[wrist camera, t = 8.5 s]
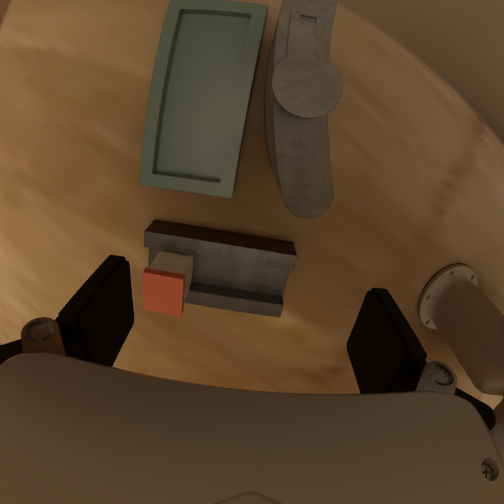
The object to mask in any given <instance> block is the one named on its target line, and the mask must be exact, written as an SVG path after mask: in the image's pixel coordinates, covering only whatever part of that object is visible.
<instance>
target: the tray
mask: <svg viewBox="0 0 504 504" xmlns="http://www.w3.org/2000/svg"><path fill="white" fill-rule="evenodd" d="M267 9H268V5H261V4H254V3H246V2H238V1H227V0H170V1H169V5H168V8H167V12H166V16H165V20H164V24H163V28H162V32H161V36H160V41H159V45H158V50H157V55H156V60H155V65H154V70H153V76H152V81H151V87H150V93H149V99H148V106H147V113H146V121H145V128H144V137H143V146H142V156H141V168H140V181H139V185H141V186H149V187H157V188H164V189H172V190H179V191H186V192H193V193H200V194H207V195H213V196H219V197H226V198H232V195H233V191H234V185H235V179H236V173H237V167H238V161H239V155H240V149H241V144H242V138H243V132H244V127H245V121H246V116H247V110H248V105H249V100H250V94H251V89H252V84H253V79H254V74H255V69H256V64H257V59H258V54H259V49H260V44H261V39H262V34H263V29H264V25H265V20H266V15H267Z"/></svg>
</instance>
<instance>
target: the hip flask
mask: <svg viewBox="0 0 504 504" xmlns="http://www.w3.org/2000/svg"><path fill="white" fill-rule="evenodd" d="M336 6H337V0H283V1H282V5H281V9H280V13H279V17H278V21H277V26H276V30H275V34H274V38H273V42H272V47H271V51H270V55H269V60H268V65H267V71H266V79H265V91H264V124H265V135H266V144H267V150H268V155H269V160H270V164H271V166H272V169H273V172H274V175H275V178H276V181H277V184H278V186H279V189H280V192H281V195H282V198H283V201H284V204H285V206H286V208H287V209H288V210H289V211H290V212H291V213H292V214H294V215H296V216H298V217H301V218H313V217H317V216H319V215H321V214H322V213H324V212H325V211H326V210H327V209H328V208H329V206H330V204H331V202H332V199H333V184H332V176H331V167H330V157H329V142H328V113H329V112H330V111H331V110H332V109H334V108H335V106H336V105H337V104H338V102H339V99H340V98H341V93H342V82H341V77H340V76H339V72H338V71H337V70H336V68H335V66H334V65H332V63H331V62H330V61H329V51H330V40H331V32H332V26H333V20H334V15H335V10H336Z"/></svg>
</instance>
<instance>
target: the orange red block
mask: <svg viewBox="0 0 504 504" xmlns="http://www.w3.org/2000/svg"><path fill="white" fill-rule="evenodd" d="M193 259H194V255H191V254H185V253H179V252H173V251H167V250H160V251H159V253H158V254H157V256H156V257H155V259H154V260H153V262H152V263H151V265H150V267H149V268H145V270H144V271H143V304H144V309H146V310H151V311H155V312H160V313H165V314H171V315H176V316H182V313H183V307H184V301H185V298H186V295H187V293H188V290H189V287H190V284H191V281H192V270H193Z"/></svg>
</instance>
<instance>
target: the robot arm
mask: <svg viewBox="0 0 504 504" xmlns="http://www.w3.org/2000/svg"><path fill="white" fill-rule="evenodd" d="M477 287H478V281H477V276H476V274H475V272H474V271H473V270H472V269H471V268H470V267H468V266H467V265H464V264H454V265H451V266H448V267H446V268H444V269H443V270H441V271H440V272H439V273H438V274H436V275H435V276H434V277H433V278H432V279H431V281H430V282H429V283H428V284H427V286H426V287H425V289H424V291H423V293H422V295H421V297H420V300H419V305H418V314H419V318H420V320H421V321H422V323H423V324H424V325H425V326H426V327H428V328H430V329H438V330H439V331H440V333H441V334H442V336H443V337H444V339H445V340H446V342H447V343H448V345H449V346H450V348H451V349H452V351H453V353H454V354H455V356H456V357H457V359H458V360H459V362H460V364H461V365H462V367H463V368H464V370H465V372H466V373H467V375H468V376H469V378H470V380H471V381H472V383H473V385H474V386H475V387H476V388H477V389H478V390H479V391H481V392H482V393H486V394H490V395H501V396H503V399H502V401H501V402H500V403H499V404H498V405H497V406H496V407H495V408H494V409H493V410H492V408H491V407H490V406H488V405H486V404H485V403H483V402H481V401H479V400H478V399H476V398H474V397H472V396H471V395H469V394H467V393H465V392H463V391H462V390H460V389H458V388H456V384H457V377H456V374H455V373H454V371H453V370H452V369H451V368H450V367H449V366H448V365H446V364H444V363H442V362H439V361H431V362H429V363H427V362H426V360H425V359H426V357H427V354H426V352H425V350H424V349H423V347H422V345H421V343H420V342H419V340H418V338H417V337H416V335H415V333H414V332H413V330H412V328H411V327H410V325H409V323H408V322H407V320H406V318H405V317H404V315H403V314H402V312H401V310H400V309H399V307H398V306H397V304H396V303H395V301H394V299H393V298H392V296H391V295H390V293H389V292H388V290H387V289H383V288H372V289H371V291H368V292H367V293H366V296H365V298H364V301H363V304H362V306H361V309H360V312H359V314H358V317H357V319H356V322H355V324H354V327H353V329H352V332H351V334H350V337H349V339H348V342H347V352H348V355H349V358H350V361H351V364H352V367H353V370H354V373H355V377H356V380H357V383H358V386H359V390H360V393H361V394H304V393H282V392H267V391H255V390H244V389H234V388H225V387H217V386H210V385H202V384H196V383H189V382H183V381H177V380H171V379H165V378H160V377H155V376H150V375H145V374H140V373H136V372H131V371H127V370H122V369H118V368H114V367H112V366H113V364H114V362H115V360H116V358H117V356H118V354H119V352H120V350H121V348H122V346H123V344H124V342H125V340H126V338H127V336H128V334H129V332H130V330H131V328H132V326H133V323H134V309H133V300H132V289H131V277H130V264H129V262H128V261H126V259H125V257H123V256H116V255H110V256H109V257H108V258H107V259H106V260H105V261H104V262H103V263H102V264H101V265H100V266H99V267H98V268H97V270H96V271H95V272H94V273H93V274H92V275H91V276H90V277H89V278H88V280H87V281H86V282H85V283H84V284H83V285H82V286H81V288H80V289H79V290H78V291H77V292H76V293H75V295H74V296H73V297H72V298H71V299H70V300H69V302H68V303H67V304H66V305H65V306H64V308H63V309H62V310H61V311H60V313H59V316H58V317H57V318H56V319H55V321H54V320H53V319H51V318H47V317H40V318H36V319H33V320H31V321H29V322H28V323H27V324H26V325H25V326H24V327H23V329H22V331H21V339H20V340H16V341H13V342H10V343H6V344H3V345H0V504H504V315H503V314H502V313H501V312H500V310H499V309H498V308H497V307H496V306H495V305H494V304H493V303H492V302H491V301H490V300H489V299H488V298H487V297H486V296H485V295H484V294H483V293H482V292H481V291H480V290H479V289H478V288H477Z"/></svg>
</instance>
